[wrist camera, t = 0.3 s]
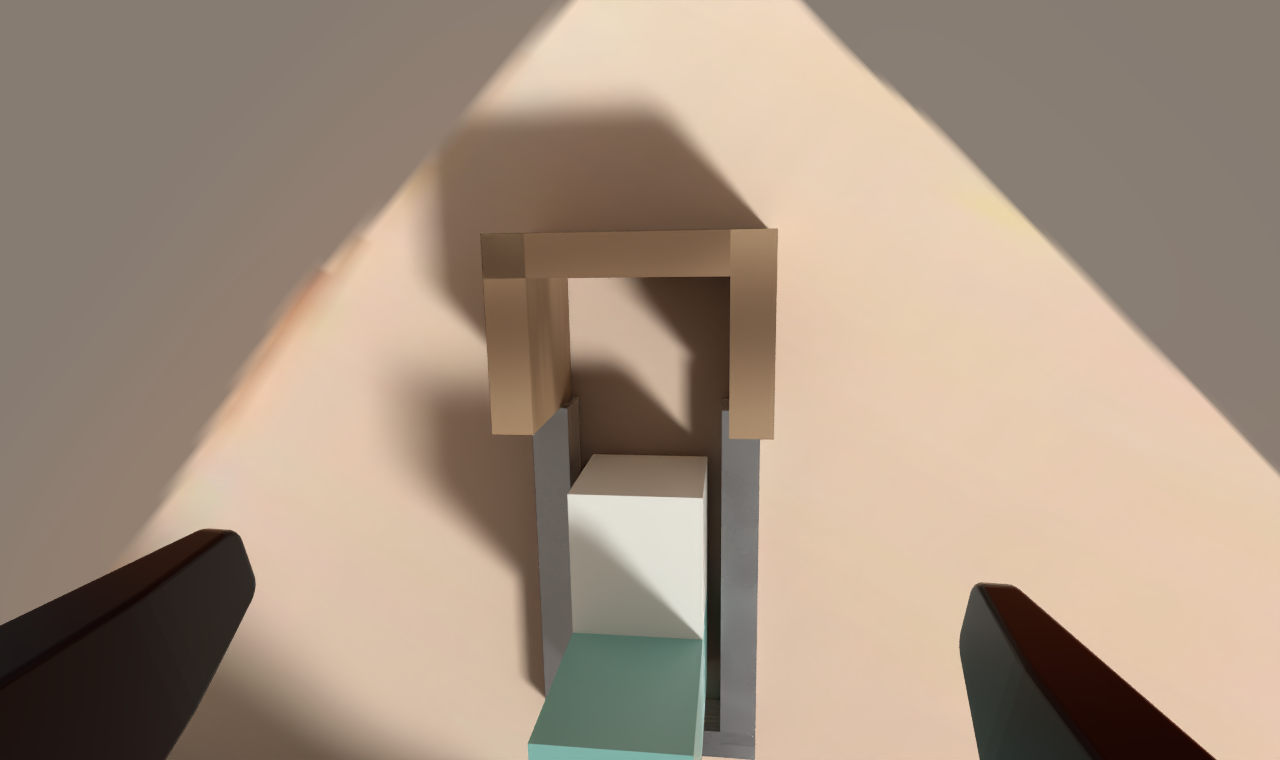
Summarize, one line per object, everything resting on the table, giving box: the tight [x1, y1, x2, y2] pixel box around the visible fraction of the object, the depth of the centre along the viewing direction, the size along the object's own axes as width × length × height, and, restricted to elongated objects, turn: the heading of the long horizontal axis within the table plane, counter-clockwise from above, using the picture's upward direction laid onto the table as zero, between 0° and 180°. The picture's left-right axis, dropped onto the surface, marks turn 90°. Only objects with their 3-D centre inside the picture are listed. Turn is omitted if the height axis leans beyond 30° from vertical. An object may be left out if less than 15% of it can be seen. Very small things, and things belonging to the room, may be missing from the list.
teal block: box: [528, 454, 708, 760], centre depth 22 cm, size 8×4×9 cm, turn 1°
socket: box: [480, 229, 778, 440], centre depth 22 cm, size 6×8×5 cm
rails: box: [533, 396, 760, 760], centre depth 25 cm, size 12×7×2 cm, turn 1°
